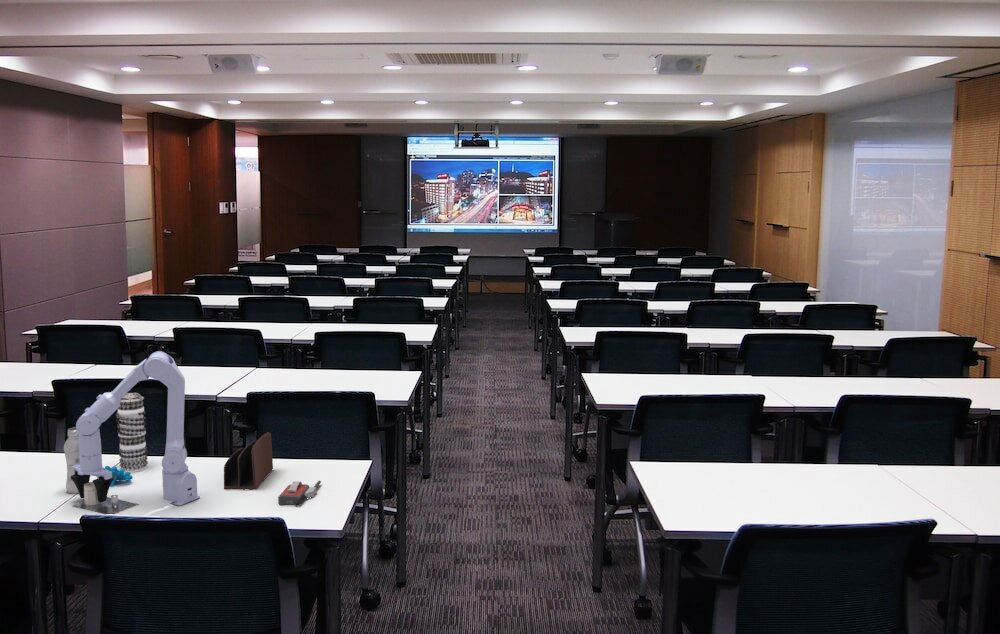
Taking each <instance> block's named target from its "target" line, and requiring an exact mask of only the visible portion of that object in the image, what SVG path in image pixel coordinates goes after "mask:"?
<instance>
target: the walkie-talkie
mask: <svg viewBox="0 0 1000 634" xmlns="http://www.w3.org/2000/svg"><path fill="white" fill-rule="evenodd" d="M302 482H303V481H293V482H292V483H291V484H289V485H288V486H287V487H285V488H284V490H283V491H282V492H281V493H280V494H279V496H278V497H277V498H278V504H279V505H278V506H285V505H299V504H302V503H303V502H304V501H305V500H304V499H307V498H310V497H312V498H313V497H314V496H315V495H316V494H317V493H316V492H317V489H318V487H319V486H320V484H321V483H322V481H321V480H317V482H316V483H315V484H314V485H313V486H310V485H308V484H307V483H305V484H304V483H302ZM315 493H316V494H315ZM314 494H315V495H314ZM310 499H311V498H310ZM303 500H304V501H303ZM307 500H308V499H307ZM302 501H303V502H302ZM301 502H302V503H301ZM299 506H300V505H299Z"/></svg>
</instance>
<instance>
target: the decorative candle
mask: <svg viewBox="0 0 1000 634" xmlns="http://www.w3.org/2000/svg"><path fill="white" fill-rule="evenodd" d="M144 399H145V397H144V396H142V395H141V394H140V393H138V392H127V393H126V394H125V395H124V396H123V397H122V398H121V399H120V407H119V408H118V409H117V412H116V414H115V416H116V422H117V423H118V424H117V425H116V427H117V428H116V429H117V433H118V434H117V436H118V437H119V449H118V451H119V456H118V457H120V458H119V467H120V469H125V471H124V473H126V472H130V473H138V471H139V472H142V471H141V470H143V471H145V470H147V469H148V468H149V466H148V464H149V463H148V462H149V461H148V459H149V458H148V456H147V454H148V451H147V450H148V447H147V446H146V445H147V442H146V437H145V435H146V434H147V428H146V427H145V425H147V422H146V419H147V417H146V416H144V415H146V414H147V411H146V410H145V407H144V401H143V400H144ZM147 467H148V468H147ZM146 468H147V469H146ZM144 469H145V470H144Z"/></svg>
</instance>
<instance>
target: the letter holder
mask: <svg viewBox="0 0 1000 634" xmlns="http://www.w3.org/2000/svg"><path fill="white" fill-rule="evenodd" d="M273 462H274V460H273V444H272V433H271V432H269V431H267V432H266V433H263V435H261V436H260V437H259V438H258V439H257V440H254V441H252V442H250V443H249V444H247V445H246V447H245V448H244V447H240V448H239V449H237V450H236V451H235V452H233V453H232V454H231V455H230V456H229V457H228V459H227V460H226V462H225V463H224V465H223V490H224V489H243V491H246V490H245V489H249V490H248V491H254V490H253V489H256V488H257V489H258V487H260V485H261V484H262V483H263V482H264V481H265V479H266V478H267V477H268V476H269V475H270V474H271V473H270V471H271V470H272V469H273V470H274V463H273ZM269 473H270V474H269ZM268 474H269V475H268ZM267 475H268V476H267ZM266 476H267V477H266ZM265 477H266V478H265ZM264 478H265V479H264ZM263 480H264V481H263ZM262 481H263V482H262ZM261 482H262V483H261ZM260 483H261V484H260ZM257 489H256V490H257Z"/></svg>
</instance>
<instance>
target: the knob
mask: <svg viewBox="0 0 1000 634" xmlns="http://www.w3.org/2000/svg"><path fill="white" fill-rule="evenodd" d="M83 499H84V501H85V504H86V505H97V504H99V501H98V497H97V491H96V488H95V485H94V483H93V481H89V483H86V484H84V498H83ZM101 503H102V502H101Z"/></svg>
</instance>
